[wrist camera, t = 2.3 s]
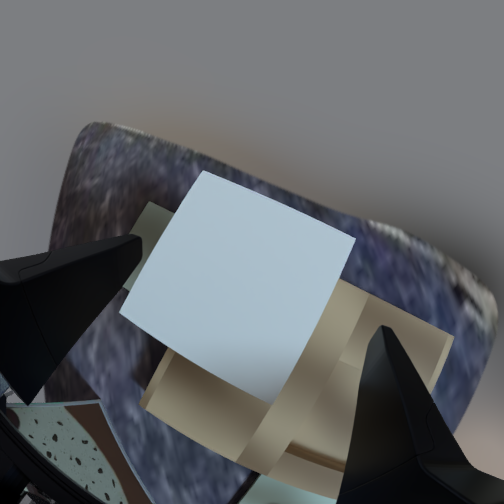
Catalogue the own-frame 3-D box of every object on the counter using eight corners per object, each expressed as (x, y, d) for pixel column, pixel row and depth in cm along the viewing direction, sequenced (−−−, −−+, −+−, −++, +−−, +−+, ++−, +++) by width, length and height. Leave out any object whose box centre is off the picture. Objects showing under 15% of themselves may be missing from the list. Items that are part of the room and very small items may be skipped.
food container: (44, 394, 17) (-51, 403, 7) (93, 379, 17) (-17, 392, 7) (109, 520, 13) (44, 572, 3) (167, 519, 13) (109, 594, 4)
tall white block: (275, 358, 16) (272, 405, 5) (215, 326, 17) (119, 312, 6) (307, 298, 17) (355, 238, 6) (247, 267, 18) (203, 170, 7)
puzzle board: (301, 546, 12) (303, 562, 10) (54, 403, 16) (38, 406, 14) (438, 337, 16) (454, 336, 14) (155, 198, 20) (144, 185, 18)
